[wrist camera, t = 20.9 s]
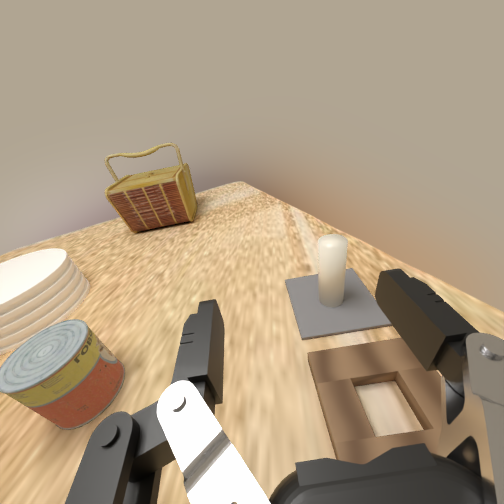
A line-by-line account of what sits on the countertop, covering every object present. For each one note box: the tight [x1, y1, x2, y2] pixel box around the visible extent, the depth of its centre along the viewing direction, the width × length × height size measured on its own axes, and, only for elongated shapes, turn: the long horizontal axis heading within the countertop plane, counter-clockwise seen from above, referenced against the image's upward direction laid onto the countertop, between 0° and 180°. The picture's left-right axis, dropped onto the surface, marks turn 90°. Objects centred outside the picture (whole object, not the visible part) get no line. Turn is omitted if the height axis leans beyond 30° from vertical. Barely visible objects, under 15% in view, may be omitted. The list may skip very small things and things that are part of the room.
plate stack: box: [0, 249, 90, 355], centre depth 58 cm, size 28×28×12 cm
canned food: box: [0, 319, 125, 429], centre depth 36 cm, size 11×11×12 cm
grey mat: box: [285, 268, 392, 340], centre depth 46 cm, size 16×16×1 cm
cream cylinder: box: [318, 234, 348, 307], centre depth 42 cm, size 5×5×14 cm
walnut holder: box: [308, 338, 442, 464], centre depth 29 cm, size 16×16×2 cm
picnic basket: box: [105, 143, 197, 233], centre depth 92 cm, size 29×26×30 cm
